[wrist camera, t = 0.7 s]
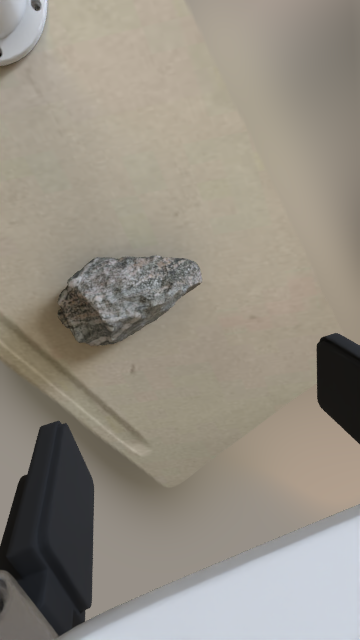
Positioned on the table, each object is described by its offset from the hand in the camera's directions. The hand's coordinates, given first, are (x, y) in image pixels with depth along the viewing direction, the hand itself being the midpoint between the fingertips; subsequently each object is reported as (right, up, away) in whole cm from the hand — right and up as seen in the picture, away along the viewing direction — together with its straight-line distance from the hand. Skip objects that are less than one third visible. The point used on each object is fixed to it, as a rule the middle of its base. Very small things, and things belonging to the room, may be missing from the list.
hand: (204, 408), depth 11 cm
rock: (-8, +8, +30) cm, 32 cm away
